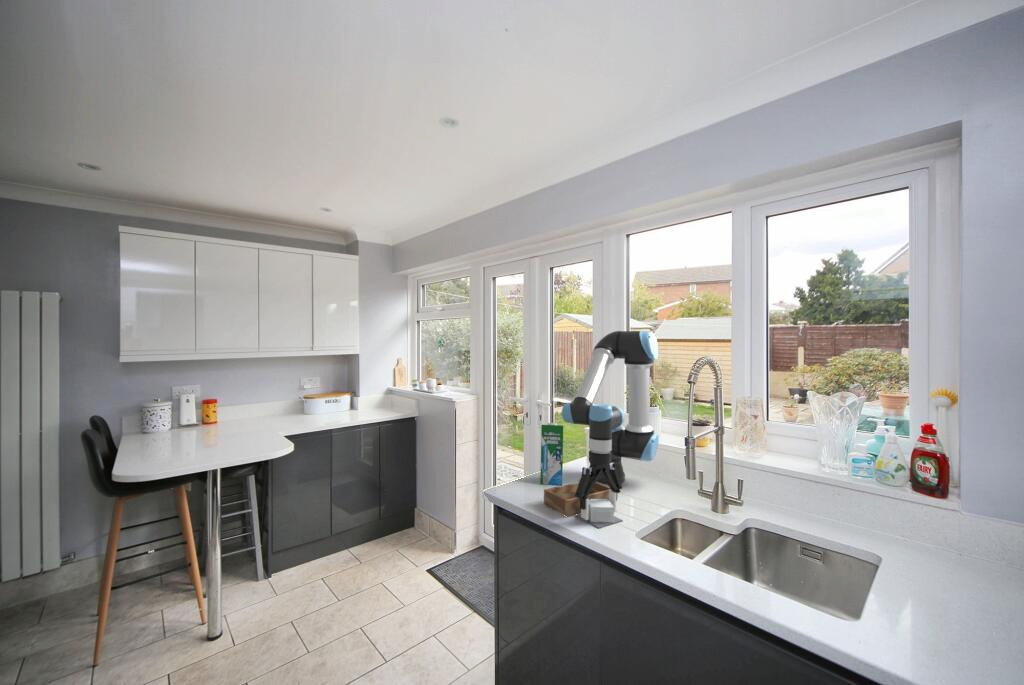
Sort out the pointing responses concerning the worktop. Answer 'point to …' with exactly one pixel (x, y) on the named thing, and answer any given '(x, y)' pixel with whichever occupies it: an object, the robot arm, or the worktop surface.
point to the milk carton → (551, 454)
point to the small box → (600, 510)
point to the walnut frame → (571, 497)
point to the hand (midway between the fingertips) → (598, 514)
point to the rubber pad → (600, 524)
